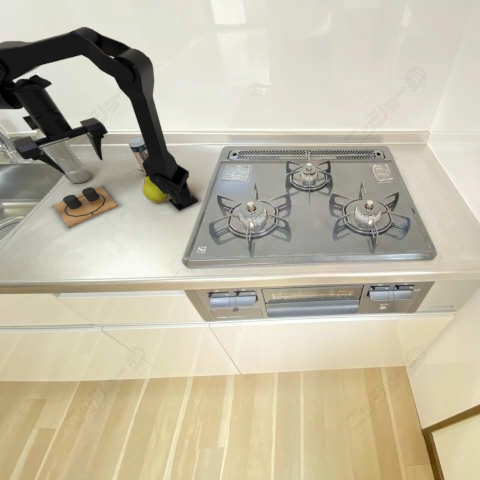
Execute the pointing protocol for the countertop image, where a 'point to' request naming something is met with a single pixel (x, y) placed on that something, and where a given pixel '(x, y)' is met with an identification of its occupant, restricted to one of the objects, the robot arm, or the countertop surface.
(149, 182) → the fruit
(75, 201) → the eye dot left
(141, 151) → the beer can
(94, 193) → the eye dot right
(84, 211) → the board
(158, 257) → the countertop surface
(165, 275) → the countertop surface
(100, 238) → the countertop surface
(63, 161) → the plastic bottle
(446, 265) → the countertop surface
